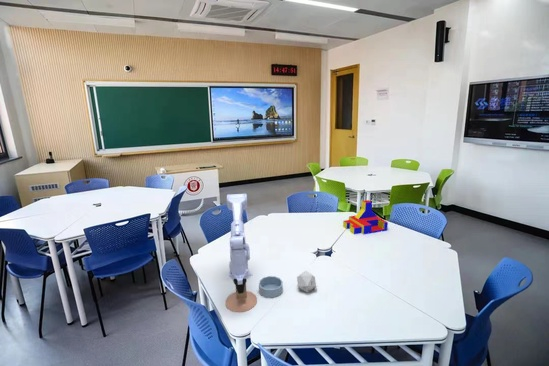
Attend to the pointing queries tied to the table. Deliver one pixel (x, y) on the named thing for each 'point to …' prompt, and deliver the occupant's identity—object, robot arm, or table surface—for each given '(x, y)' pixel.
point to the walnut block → (241, 295)
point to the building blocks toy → (365, 221)
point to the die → (306, 281)
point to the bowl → (270, 286)
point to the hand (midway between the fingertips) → (240, 289)
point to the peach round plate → (241, 302)
